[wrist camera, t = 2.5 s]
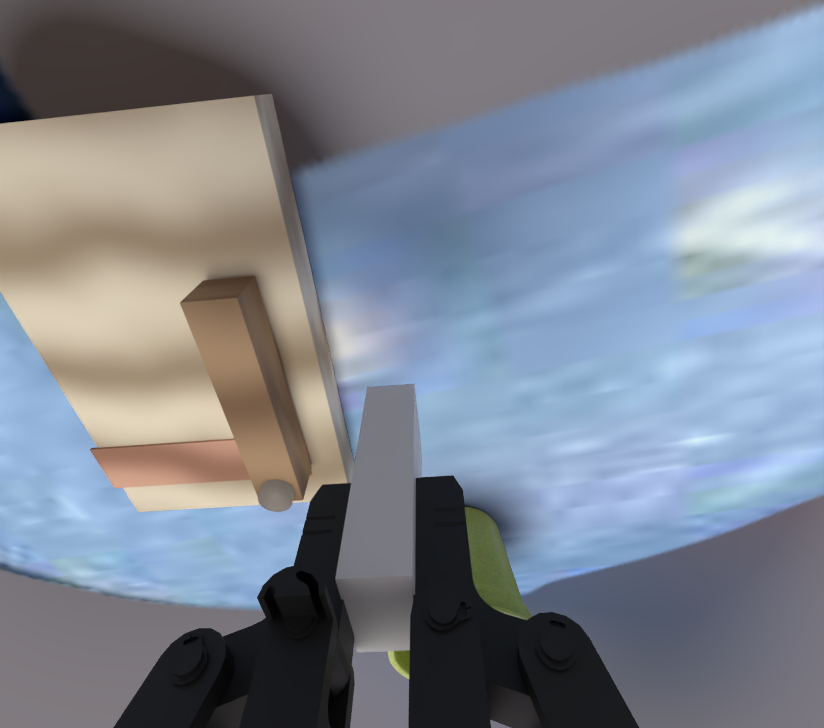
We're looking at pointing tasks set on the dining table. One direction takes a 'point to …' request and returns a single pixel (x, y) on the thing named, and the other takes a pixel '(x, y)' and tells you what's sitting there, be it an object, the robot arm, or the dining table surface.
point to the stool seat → (163, 286)
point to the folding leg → (250, 386)
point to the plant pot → (483, 575)
